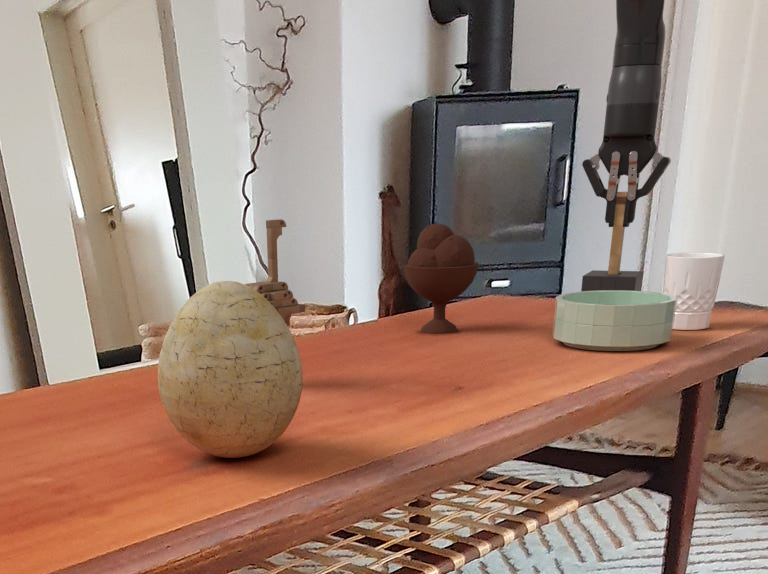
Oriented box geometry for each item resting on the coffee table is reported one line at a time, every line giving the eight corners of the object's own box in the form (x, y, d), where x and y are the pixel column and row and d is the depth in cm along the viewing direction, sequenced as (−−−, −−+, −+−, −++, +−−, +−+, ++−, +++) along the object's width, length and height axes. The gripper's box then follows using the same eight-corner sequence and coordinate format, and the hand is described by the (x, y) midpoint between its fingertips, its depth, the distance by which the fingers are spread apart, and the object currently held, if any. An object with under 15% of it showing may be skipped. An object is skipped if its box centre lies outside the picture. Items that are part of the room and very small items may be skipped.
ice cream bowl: (397, 335, 144) (399, 226, 137) (411, 324, 154) (413, 221, 147) (468, 337, 141) (474, 225, 134) (478, 325, 151) (484, 220, 144)
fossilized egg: (241, 430, 96) (233, 269, 90) (333, 453, 88) (331, 278, 81) (136, 456, 89) (119, 283, 82) (225, 484, 80) (214, 294, 74)
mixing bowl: (676, 336, 137) (683, 291, 134) (662, 355, 124) (669, 307, 122) (564, 331, 143) (569, 289, 140) (540, 349, 131) (544, 303, 128)
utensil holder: (638, 309, 161) (643, 271, 158) (631, 316, 154) (636, 276, 151) (588, 308, 164) (592, 270, 161) (578, 314, 157) (582, 275, 155)
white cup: (670, 321, 149) (679, 251, 144) (721, 325, 144) (733, 253, 139) (647, 328, 144) (656, 256, 139) (700, 332, 139) (711, 258, 134)
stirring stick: (615, 311, 159) (629, 191, 151) (613, 313, 158) (627, 191, 150) (604, 311, 160) (618, 191, 152) (603, 312, 159) (616, 192, 151)
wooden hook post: (271, 376, 120) (266, 218, 112) (308, 383, 115) (305, 219, 107) (159, 399, 110) (145, 227, 102) (195, 408, 105) (183, 229, 97)
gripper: (684, 100, 146) (667, 225, 153) (590, 104, 151) (579, 225, 159) (678, 98, 140) (661, 228, 147) (581, 103, 145) (569, 228, 153)
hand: (618, 226), depth 153 cm, fingers closed on stirring stick, 1 cm apart
